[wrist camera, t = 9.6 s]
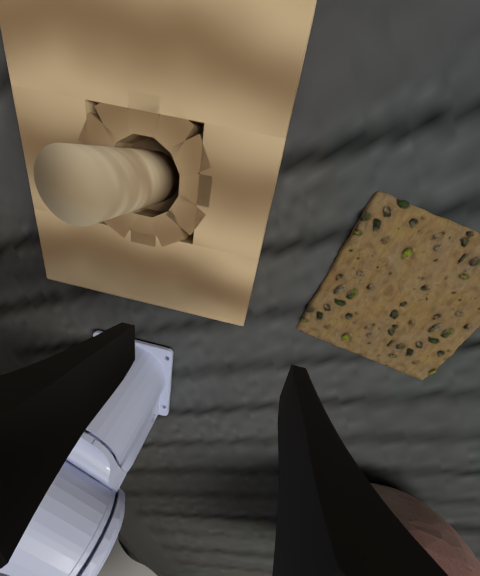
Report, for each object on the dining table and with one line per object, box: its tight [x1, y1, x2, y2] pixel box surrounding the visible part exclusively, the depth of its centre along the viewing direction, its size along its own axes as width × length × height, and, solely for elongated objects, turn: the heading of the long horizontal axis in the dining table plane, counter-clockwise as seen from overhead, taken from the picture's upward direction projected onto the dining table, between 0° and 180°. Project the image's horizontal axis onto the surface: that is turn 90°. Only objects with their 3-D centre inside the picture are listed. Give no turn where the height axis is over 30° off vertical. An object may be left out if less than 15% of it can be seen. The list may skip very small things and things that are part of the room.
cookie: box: [296, 192, 480, 380], centre depth 19 cm, size 12×12×1 cm
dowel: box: [34, 143, 180, 227], centre depth 14 cm, size 3×3×8 cm
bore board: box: [0, 0, 317, 326], centre depth 17 cm, size 18×16×2 cm
